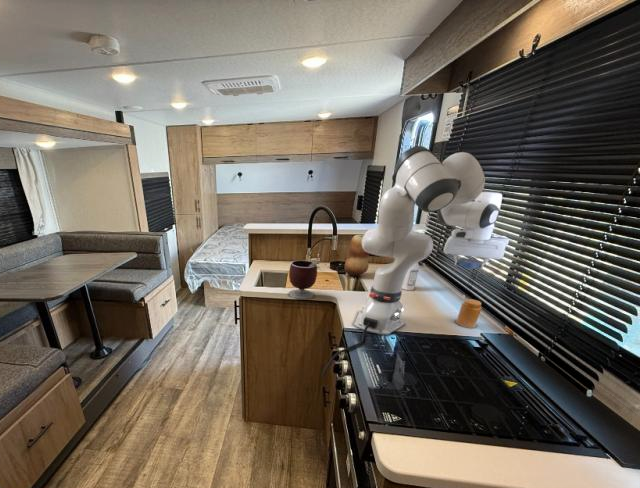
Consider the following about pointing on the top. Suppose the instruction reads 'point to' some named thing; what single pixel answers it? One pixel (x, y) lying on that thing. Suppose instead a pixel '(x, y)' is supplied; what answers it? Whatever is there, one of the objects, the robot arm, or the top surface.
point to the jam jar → (469, 313)
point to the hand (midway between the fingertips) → (467, 266)
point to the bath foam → (410, 277)
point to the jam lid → (469, 263)
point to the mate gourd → (302, 278)
